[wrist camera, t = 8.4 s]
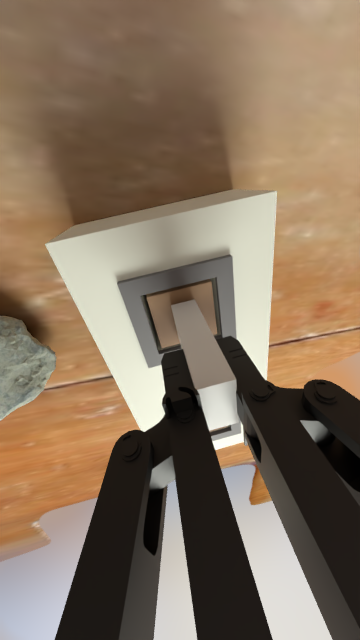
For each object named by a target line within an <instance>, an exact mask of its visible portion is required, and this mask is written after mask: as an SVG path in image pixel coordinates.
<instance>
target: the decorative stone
mask: <svg viewBox="0 0 360 640" xmlns="http://www.w3.org/2000/svg"><path fill="white" fill-rule="evenodd" d="M55 367H56V356H55V352H54V351H52V350H51V349H50V347H49V346H46V345H44V344H42V343H40V342H39V341H38V340H37V339H36V338H33V337H32V336H31V334H30V333H29V332H28V331H27V328H26V326H25V324H24V323H23V321H22V320H18V319H16V318H13V317H8V316H0V421H1V420H2V419H3V418H4V417H6V416H7V415H8V414H10V413H11V412H13V411H14V410H16V409H17V408H19V407H21V406H23V405H25V404H27V403H29V402H31V401H33V400H34V399H35V398H36V397H37V396H38V395H39V394H40V393H41V392H42V391H43V390H44V387H45V384H46V382H47V380H48V379H49V378H50V376H51V373H52V372H53V371H54V370H55Z"/></svg>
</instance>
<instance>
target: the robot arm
mask: <svg viewBox="0 0 360 640" xmlns="http://www.w3.org/2000/svg"><path fill="white" fill-rule="evenodd" d="M171 308H172V312H173V316H174V320H175V325H176V329H177V333H178V337H179V341H180V345H181V348H182V349H180V350H176V351H172V352H168V353H164V355H163V358H162V360H161V365H162V372H163V379H164V386H165V395H164V397H163V399H162V406H163V409H164V412H165V415H164V417H163V418H162V419H161V421H160V422H159V423H157V424H156V425H155V426H153V427H152V428H150V429H148V430H147V431H145V432H143V431H141V430H132V431H128V432H127V433H125V434H124V435H122V436H121V437H120V438H119V439H118V441H117V442H116V443H115V445H114V448H113V450H112V453H111V456H110V459H109V463H108V466H107V469H106V473H105V476H104V479H103V483H102V486H101V489H100V492H99V496H98V499H97V502H96V506H95V509H94V513H93V515H92V519H91V522H90V526H89V529H88V532H87V535H86V539H85V542H84V545H83V549H82V552H81V555H80V558H79V562H78V565H77V568H76V572H75V575H74V578H73V582H72V585H71V588H70V591H69V595H68V598H67V601H66V605H65V608H64V611H63V614H62V618H61V621H60V624H59V628H58V631H57V634H56V637H55V640H153V638H154V627H155V615H156V605H157V594H158V584H159V572H160V561H161V551H162V540H163V528H164V517H165V507H166V497H167V486H168V484H169V483H171V482H172V481H173V480H176V487H177V494H178V501H179V508H180V516H181V523H182V530H183V538H184V545H185V552H186V560H187V567H188V574H189V581H190V589H191V596H192V603H193V611H194V618H195V624H196V632H197V640H273V639H272V636H271V634H270V630H269V626H268V623H267V620H266V616H265V613H264V610H263V606H262V603H261V600H260V597H259V593H258V590H257V587H256V583H255V580H254V577H253V573H252V570H251V567H250V564H249V560H248V557H247V554H246V550H245V547H244V544H243V541H242V537H241V534H240V531H239V527H238V524H237V521H236V517H235V514H234V511H233V508H232V504H231V501H230V498H229V494H228V491H227V488H226V485H225V481H224V478H223V475H222V471H221V468H220V465H219V461H218V458H217V455H216V451H215V448H214V445H213V442H212V438H211V435H210V432H209V431H210V430H214V429H217V428H221V427H224V426H228V425H232V424H235V423H239V418H240V420H241V423H242V425H243V436H244V444H245V446H246V445H247V443H248V445H249V448H250V450H251V452H252V454H253V457H254V459H255V461H256V464H257V466H258V468H259V471H260V473H261V475H262V478H263V480H264V482H265V485H266V487H267V489H268V491H269V494H270V496H271V498H272V501H273V503H274V505H275V508H276V510H277V512H278V515H279V517H280V519H281V521H282V524H283V526H284V528H285V531H286V533H287V535H288V538H289V540H290V542H291V544H292V547H293V549H294V552H295V554H296V556H297V558H298V561H299V563H300V565H301V567H302V570H303V572H304V575H305V577H306V579H307V582H308V584H309V586H310V588H311V591H312V593H313V595H314V598H315V600H316V602H317V605H318V607H319V609H320V612H321V614H322V616H323V618H324V621H325V623H326V625H327V628H328V630H329V632H330V635H331V637H332V639H333V640H360V400H358V399H357V398H355V397H354V396H352V395H351V394H350V393H348V392H347V391H345V390H344V389H342V388H341V387H340V386H338V385H336V384H334V383H332V382H330V381H326V380H312V381H309V382H307V383H306V384H305V385H304V389H292V388H280V387H277V386H275V385H274V384H272V383H271V382H269V381H267V380H265V379H264V378H263V376H262V375H261V373H260V372H259V370H258V369H257V367H256V366H255V364H254V363H253V361H252V360H251V358H250V357H249V355H247V352H246V351H245V349H243V346H242V345H241V343H240V342H239V341H238V340H237V339H235V338H234V337H232V336H227V337H224V338H220V339H215V338H214V336H213V334H212V332H211V330H210V328H209V326H208V324H207V322H206V320H205V318H204V316H203V315H202V313H201V311H200V309H199V307H198V305H197V303H196V301H195V299H194V300H190V301H186V302H182V303H178V304H174V305H171Z"/></svg>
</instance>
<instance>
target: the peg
mask: <svg viewBox="0 0 360 640" xmlns="http://www.w3.org/2000/svg"><path fill="white" fill-rule="evenodd" d="M146 298H147V301H148V304H149V308H150V311H151V314H152V318H153V321H154V324H155V328H156V331H157V334H158V337H159V341H160V344H161V347H162V348H165V347H169V346H173V345H177V344H180V341H179V337H178V333H177V329H176V325H175V320H174V316H173V312H172V308H171V305H174V304H178V303H182V302H186V301H190V300H194V299H195V301H196V303H197V305H198V307H199V309H200V311H201V313H202V315H203V316H204V318H205V320H206V322H207V324H208V326H209V328H210V330H211V332H212V334H213V335H215V334H217V326H216V317H215V308H214V299H213V290H212V282H211V280H210V279H207V280H203V281H199V282H195V283H190V284H186V285H182V286H178V287H174V288H170V289H166V290H162V291H158V292H154V293H150V294H146Z"/></svg>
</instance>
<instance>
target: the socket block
mask: <svg viewBox="0 0 360 640" xmlns="http://www.w3.org/2000/svg"><path fill="white" fill-rule="evenodd" d="M276 201H277V191H270V190H239V189H232V190H228V191H223V192H219V193H215V194H210V195H206V196H201V197H197V198H192V199H188V200H184V201H179V202H175V203H170V204H166V205H162V206H157V207H153V208H148V209H144V210H140V211H135V212H131V213H126V214H122V215H118V216H113V217H109V218H104V219H100V220H96V221H91V222H87V223H82V224H78V225H74V226H72V227H71V228H69V229H68V230H66V231H64V232H63V233H61V234H60V235H58V236H57V237H55V238H53V239H52V240H50V241H49V242H47V243H46V244H45V245H46V247H47V249H48V251H49V253H50V255H51V257H52V259H53V261H54V263H55V265H56V267H57V269H58V271H59V273H60V274H61V276H62V278H63V280H64V282H65V284H66V286H67V288H68V290H69V292H70V294H71V296H72V298H73V300H74V302H75V304H76V305H77V307H78V309H79V311H80V313H81V315H82V317H83V319H84V321H85V323H86V325H87V327H88V329H89V331H90V333H91V335H92V336H93V338H94V340H95V342H96V344H97V346H98V348H99V350H100V352H101V354H102V356H103V358H104V360H105V362H106V364H107V366H108V367H109V369H110V371H111V373H112V375H113V377H114V379H115V381H116V383H117V385H118V387H119V389H120V391H121V393H122V395H123V397H124V398H125V400H126V402H127V404H128V406H129V408H130V410H131V412H132V414H133V416H134V418H135V420H136V422H137V424H138V426H139V428H140V430H141V431H143V432H145V431H147V430H148V429H150V428H152V427H153V426H155V425H156V424H157V423H159V422H160V421H161V419H162V418H163V417H164V415H165V412H164V409H163V406H162V399H163V397H164V395H165V386H164V379H163V372H162V365H161V360H162V358H163V355H164V353H168V352H172V351H176V350H180V349H182V348H181V345H180V344H177V345H173V346H169V347H165V348H162V347H161V344H160V341H159V337H158V334H157V331H156V328H155V324H154V321H153V318H152V314H151V311H150V308H149V304H148V301H147V298H146V294H150V293H154V292H158V291H162V290H166V289H170V288H174V287H178V286H182V285H186V284H190V283H195V282H199V281H203V280H207V279H210V280H211V282H212V290H213V299H214V308H215V317H216V326H217V334H215V335H213V336H214V338H215V339H220V338H224V337H227V336H232V337H234V338H235V339H237V340H238V341H239V342H240V343H241V345H242V346H243V349H245V351H246V352H247V355H249V357H250V358H251V360H252V361H253V363H254V364H255V366H256V367H257V369H258V370H259V372H260V373H261V375H262V376H263V378H264V379H265V380H267V365H268V346H269V328H270V310H271V292H272V274H273V256H274V238H275V219H276ZM210 435H211V438H212V442H213V445H214V448H215V450H217V449H220V448H224V447H227V446H231V445H234V444H238V443H241V442H244V436H243V425H242V423H241V420H240V418H239V423H235V424H232V425H228V426H227V427H225V428H222V429H218V430H215V431H211V432H210Z"/></svg>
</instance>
